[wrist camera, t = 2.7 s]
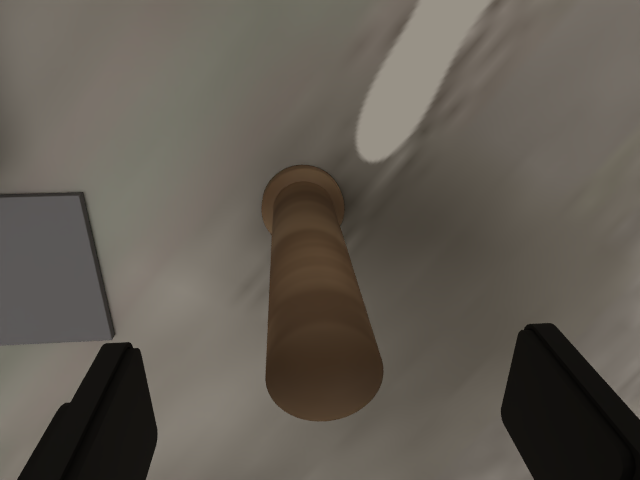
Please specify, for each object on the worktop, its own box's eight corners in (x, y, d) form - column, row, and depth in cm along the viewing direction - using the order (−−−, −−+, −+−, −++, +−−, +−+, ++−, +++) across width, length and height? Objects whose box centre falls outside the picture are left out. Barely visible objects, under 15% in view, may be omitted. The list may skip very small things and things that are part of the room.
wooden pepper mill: (341, 239, 26) (399, 431, 13) (264, 241, 26) (248, 441, 13) (343, 164, 24) (411, 303, 12) (260, 165, 24) (236, 311, 11)
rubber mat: (114, 335, 28) (111, 340, 27) (-43, 342, 27) (-48, 347, 26) (82, 192, 24) (78, 195, 23) (-100, 197, 23) (-108, 200, 23)
